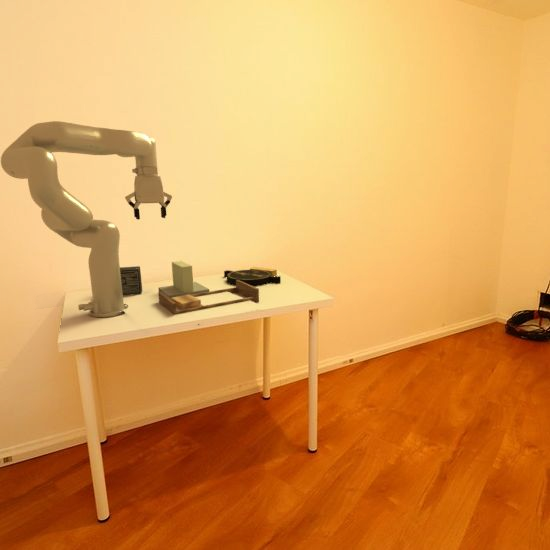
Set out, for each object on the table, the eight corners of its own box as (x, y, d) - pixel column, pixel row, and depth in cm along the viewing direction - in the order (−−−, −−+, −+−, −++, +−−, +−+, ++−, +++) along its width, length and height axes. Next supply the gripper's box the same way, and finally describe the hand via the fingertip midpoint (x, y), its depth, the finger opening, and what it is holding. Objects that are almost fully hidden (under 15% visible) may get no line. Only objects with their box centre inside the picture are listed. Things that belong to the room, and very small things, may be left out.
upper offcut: (182, 309, 131) (182, 303, 131) (171, 303, 138) (171, 297, 137) (200, 305, 135) (200, 299, 135) (189, 299, 142) (188, 294, 142)
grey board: (169, 302, 144) (169, 295, 143) (158, 293, 155) (158, 287, 154) (209, 295, 152) (209, 289, 151) (196, 287, 163) (195, 281, 163)
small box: (142, 290, 161) (140, 265, 158) (141, 294, 154) (139, 268, 152) (115, 291, 158) (113, 267, 156) (113, 296, 152) (110, 270, 150)
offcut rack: (174, 318, 126) (173, 303, 125) (159, 305, 140) (158, 292, 139) (258, 301, 143) (258, 288, 142) (238, 291, 157) (238, 279, 156)
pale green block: (183, 292, 147) (181, 267, 145) (173, 285, 157) (171, 261, 154) (193, 291, 149) (192, 265, 147) (182, 284, 159) (181, 260, 157)
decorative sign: (292, 270, 180) (266, 283, 159) (292, 277, 181) (267, 290, 160) (240, 265, 194) (210, 275, 172) (240, 271, 194) (210, 282, 173)
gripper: (125, 171, 135) (129, 220, 139) (173, 172, 144) (176, 218, 148) (120, 172, 141) (125, 219, 145) (166, 172, 150) (170, 216, 154)
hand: (150, 218), depth 147 cm, fingers open, 9 cm apart
